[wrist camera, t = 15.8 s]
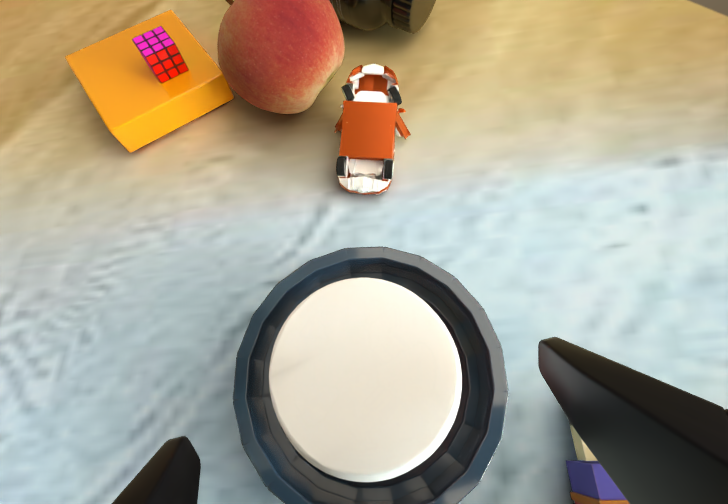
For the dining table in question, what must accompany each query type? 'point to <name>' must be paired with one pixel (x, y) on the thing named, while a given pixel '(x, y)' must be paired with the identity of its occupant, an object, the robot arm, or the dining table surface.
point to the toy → (590, 478)
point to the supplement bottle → (384, 13)
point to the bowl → (474, 416)
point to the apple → (280, 51)
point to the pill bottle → (365, 379)
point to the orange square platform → (149, 80)
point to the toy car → (369, 130)
